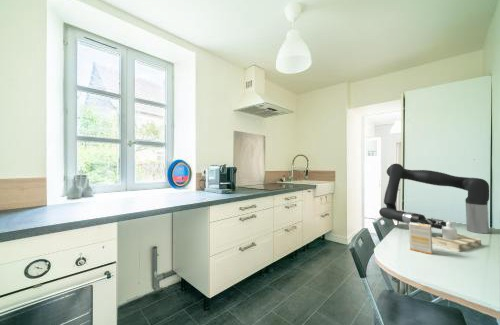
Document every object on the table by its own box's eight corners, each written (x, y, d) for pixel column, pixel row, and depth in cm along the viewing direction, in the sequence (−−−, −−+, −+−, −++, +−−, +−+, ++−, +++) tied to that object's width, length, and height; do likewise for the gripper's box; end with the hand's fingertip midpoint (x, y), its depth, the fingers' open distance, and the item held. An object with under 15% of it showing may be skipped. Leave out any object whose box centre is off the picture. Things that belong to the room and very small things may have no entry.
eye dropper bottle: (443, 240, 112) (442, 218, 112) (457, 243, 107) (457, 220, 108) (441, 242, 109) (441, 220, 110) (456, 245, 105) (455, 222, 105)
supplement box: (432, 251, 98) (431, 224, 98) (431, 254, 95) (430, 226, 95) (411, 246, 104) (410, 221, 104) (409, 249, 101) (408, 223, 101)
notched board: (453, 238, 114) (453, 233, 114) (481, 245, 104) (481, 239, 104) (431, 243, 108) (431, 237, 108) (458, 251, 97) (458, 245, 97)
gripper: (405, 214, 122) (438, 220, 107) (420, 212, 127) (454, 218, 112) (406, 226, 122) (438, 235, 107) (421, 223, 127) (454, 231, 112)
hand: (446, 226), depth 110 cm, fingers open, 8 cm apart
